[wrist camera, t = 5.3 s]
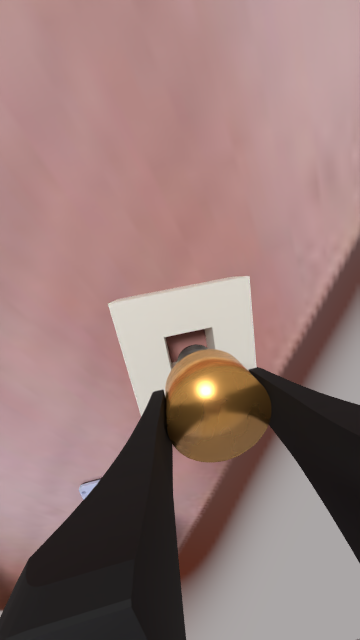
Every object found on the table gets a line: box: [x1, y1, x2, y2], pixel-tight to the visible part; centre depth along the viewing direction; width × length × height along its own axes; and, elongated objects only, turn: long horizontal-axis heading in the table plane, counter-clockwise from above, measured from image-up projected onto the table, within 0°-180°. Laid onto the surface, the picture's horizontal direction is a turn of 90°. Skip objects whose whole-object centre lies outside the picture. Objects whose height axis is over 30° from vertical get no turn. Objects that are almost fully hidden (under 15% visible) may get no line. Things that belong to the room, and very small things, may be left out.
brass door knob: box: [165, 345, 271, 462], centre depth 11 cm, size 5×5×6 cm
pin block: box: [108, 276, 256, 416], centre depth 17 cm, size 12×12×4 cm
